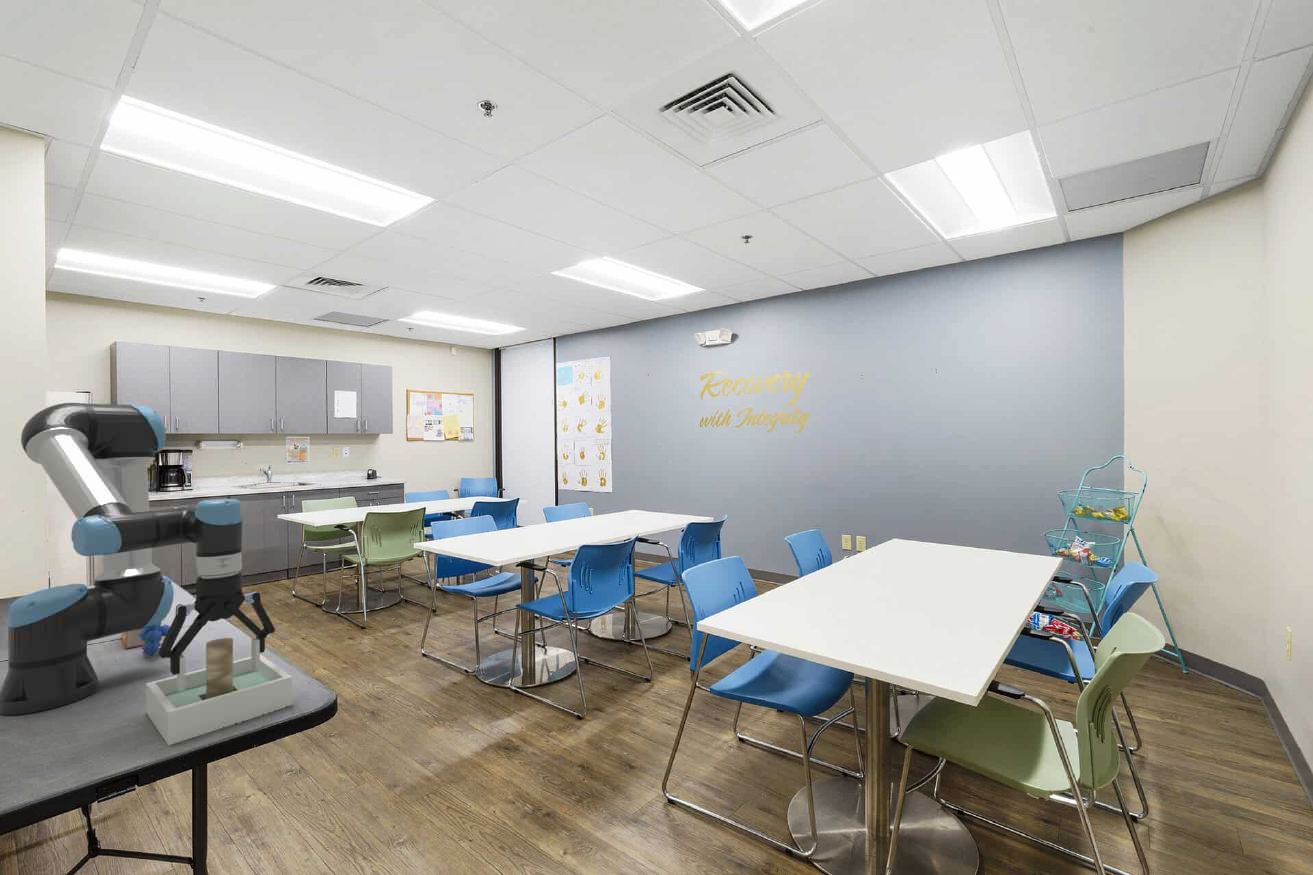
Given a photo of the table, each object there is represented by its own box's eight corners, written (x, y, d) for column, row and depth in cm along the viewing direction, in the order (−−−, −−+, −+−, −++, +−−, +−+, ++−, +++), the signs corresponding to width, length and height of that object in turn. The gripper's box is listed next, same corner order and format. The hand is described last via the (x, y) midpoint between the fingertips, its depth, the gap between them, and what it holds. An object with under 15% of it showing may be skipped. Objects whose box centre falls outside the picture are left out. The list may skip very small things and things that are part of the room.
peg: (209, 716, 115) (209, 646, 115) (203, 709, 117) (203, 642, 117) (235, 708, 118) (235, 640, 118) (229, 702, 121) (229, 636, 121)
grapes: (176, 656, 146) (176, 610, 146) (141, 664, 141) (141, 616, 142) (169, 645, 154) (169, 601, 154) (135, 652, 149) (135, 607, 149)
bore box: (168, 745, 104) (168, 712, 104) (146, 712, 116) (146, 683, 116) (292, 705, 119) (292, 676, 119) (260, 680, 132) (260, 654, 132)
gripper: (145, 589, 106) (146, 704, 106) (291, 566, 125) (292, 664, 125) (138, 582, 111) (138, 693, 111) (279, 561, 130) (280, 656, 129)
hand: (219, 678), depth 118 cm, fingers open, 12 cm apart
